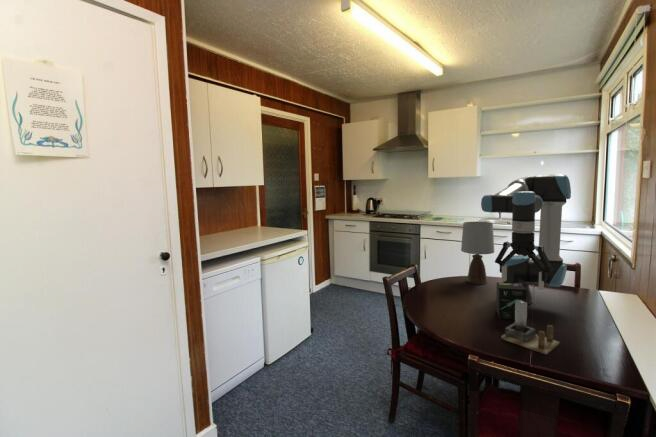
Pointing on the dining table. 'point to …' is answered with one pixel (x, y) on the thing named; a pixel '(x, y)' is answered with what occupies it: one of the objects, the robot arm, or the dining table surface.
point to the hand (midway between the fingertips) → (521, 284)
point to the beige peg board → (531, 338)
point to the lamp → (477, 248)
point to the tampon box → (508, 299)
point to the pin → (520, 315)
